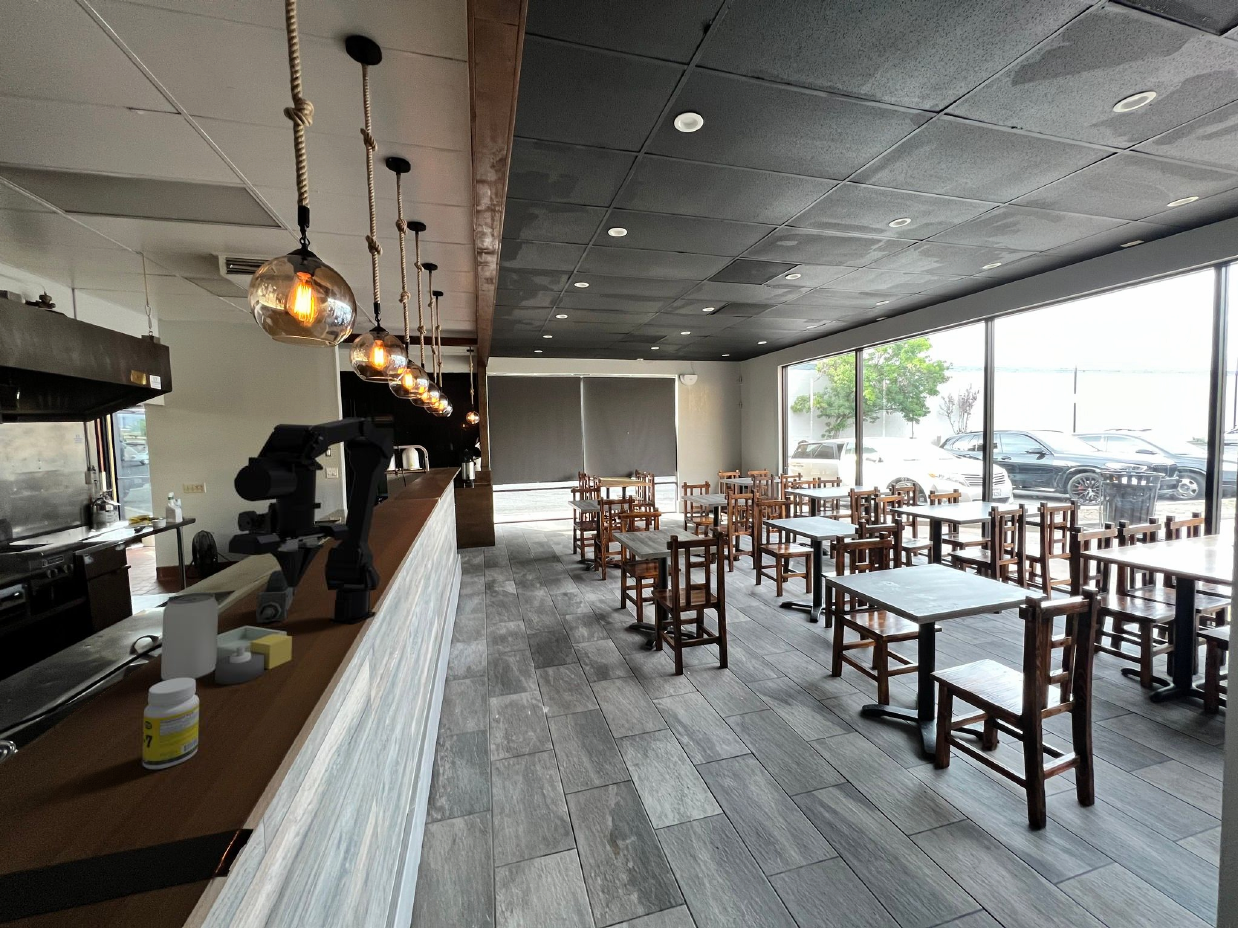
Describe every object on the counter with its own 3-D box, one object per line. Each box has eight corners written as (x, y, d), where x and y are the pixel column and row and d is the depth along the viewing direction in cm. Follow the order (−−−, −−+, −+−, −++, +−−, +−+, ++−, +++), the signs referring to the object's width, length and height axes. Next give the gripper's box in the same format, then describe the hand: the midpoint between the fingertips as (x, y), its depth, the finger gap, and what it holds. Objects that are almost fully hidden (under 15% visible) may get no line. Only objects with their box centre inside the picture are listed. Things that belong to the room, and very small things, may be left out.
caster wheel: (269, 612, 109) (246, 628, 95) (272, 568, 110) (249, 577, 96) (299, 610, 111) (280, 626, 97) (301, 567, 112) (283, 576, 98)
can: (183, 685, 73) (186, 605, 73) (149, 680, 74) (151, 600, 74) (226, 668, 79) (229, 593, 79) (194, 663, 81) (196, 589, 80)
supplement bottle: (141, 755, 56) (143, 683, 56) (195, 740, 60) (198, 671, 60) (142, 776, 53) (144, 698, 53) (199, 759, 56) (201, 685, 56)
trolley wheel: (243, 665, 80) (244, 638, 80) (272, 670, 79) (273, 643, 79) (204, 680, 75) (205, 652, 75) (235, 686, 73) (236, 657, 73)
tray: (245, 639, 91) (246, 625, 91) (286, 645, 89) (286, 631, 89) (192, 658, 82) (192, 643, 82) (235, 665, 80) (236, 650, 80)
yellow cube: (272, 656, 84) (273, 633, 84) (291, 659, 83) (292, 636, 83) (249, 666, 81) (250, 641, 81) (269, 669, 80) (270, 644, 80)
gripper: (304, 491, 96) (301, 571, 96) (203, 497, 78) (199, 595, 78) (352, 494, 94) (349, 577, 94) (259, 501, 75) (255, 603, 75)
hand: (292, 586), depth 85 cm, fingers closed
